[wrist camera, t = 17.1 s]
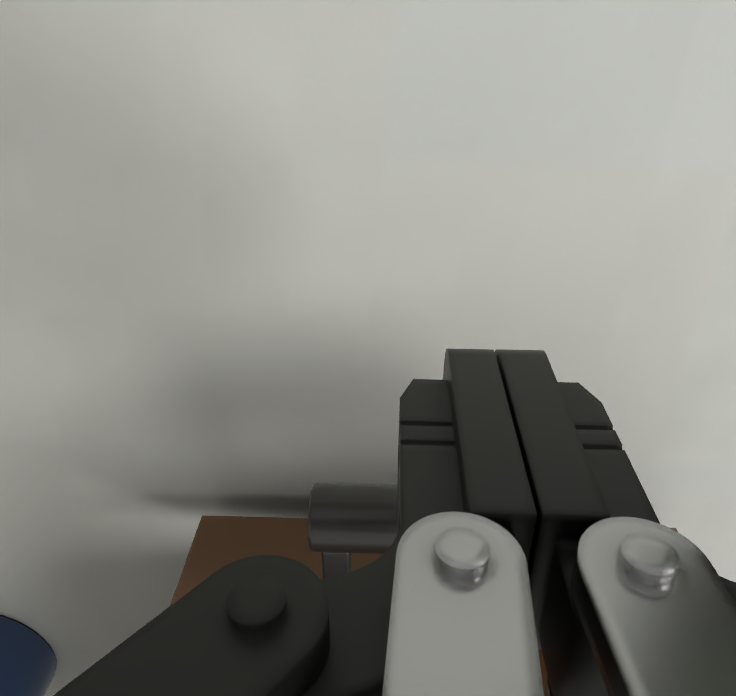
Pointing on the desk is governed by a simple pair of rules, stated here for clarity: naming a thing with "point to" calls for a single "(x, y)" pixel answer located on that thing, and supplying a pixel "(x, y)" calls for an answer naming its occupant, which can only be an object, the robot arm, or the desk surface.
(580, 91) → the desk surface
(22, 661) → the pencil tin
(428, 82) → the desk surface
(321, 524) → the drawer
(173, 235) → the desk surface
